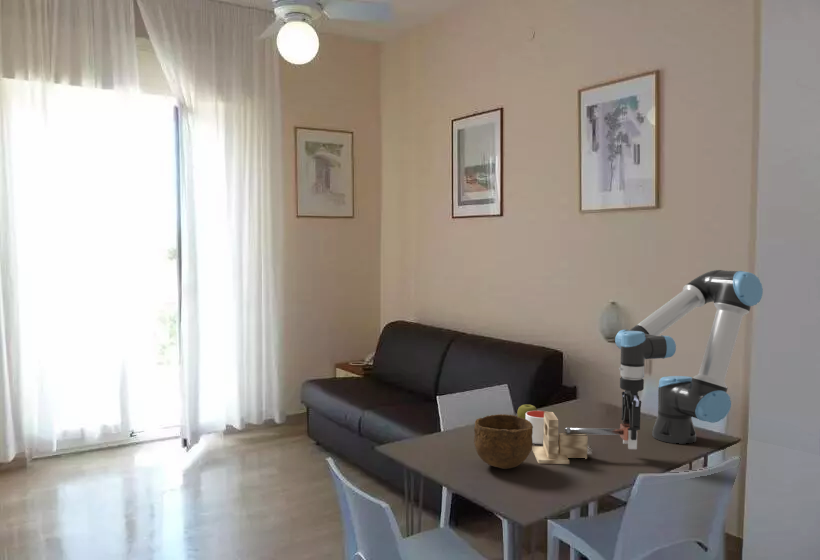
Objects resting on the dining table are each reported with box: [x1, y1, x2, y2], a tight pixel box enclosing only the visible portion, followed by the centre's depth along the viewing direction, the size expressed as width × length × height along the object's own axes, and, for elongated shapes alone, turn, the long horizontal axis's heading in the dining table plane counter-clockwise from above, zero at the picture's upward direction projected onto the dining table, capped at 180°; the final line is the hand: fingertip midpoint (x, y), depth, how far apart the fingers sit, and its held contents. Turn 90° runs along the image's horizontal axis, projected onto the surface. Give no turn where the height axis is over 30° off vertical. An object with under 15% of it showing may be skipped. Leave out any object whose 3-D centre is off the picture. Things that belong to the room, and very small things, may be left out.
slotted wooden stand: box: [531, 411, 589, 465], centre depth 217 cm, size 17×14×14 cm
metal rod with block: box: [563, 423, 639, 441], centre depth 216 cm, size 24×4×4 cm, turn 88°
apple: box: [516, 404, 538, 419], centre depth 257 cm, size 8×8×7 cm
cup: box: [525, 410, 547, 445], centre depth 234 cm, size 10×10×10 cm
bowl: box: [473, 413, 533, 470], centre depth 207 cm, size 19×19×15 cm
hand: (629, 445), depth 216 cm, fingers open, 5 cm apart
